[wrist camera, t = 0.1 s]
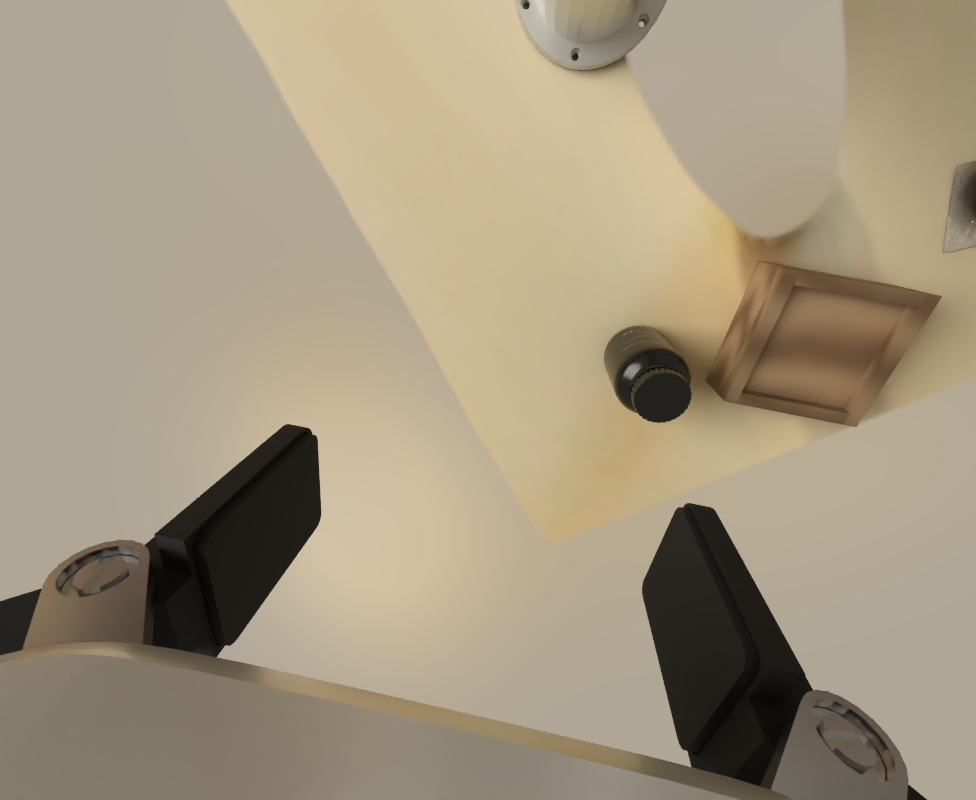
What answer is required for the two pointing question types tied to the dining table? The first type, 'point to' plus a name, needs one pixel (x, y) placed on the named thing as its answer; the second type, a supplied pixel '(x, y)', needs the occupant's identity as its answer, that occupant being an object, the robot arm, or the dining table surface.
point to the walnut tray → (816, 342)
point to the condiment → (962, 210)
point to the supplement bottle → (648, 374)
